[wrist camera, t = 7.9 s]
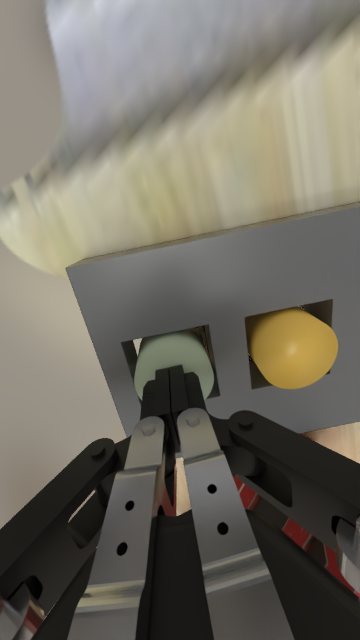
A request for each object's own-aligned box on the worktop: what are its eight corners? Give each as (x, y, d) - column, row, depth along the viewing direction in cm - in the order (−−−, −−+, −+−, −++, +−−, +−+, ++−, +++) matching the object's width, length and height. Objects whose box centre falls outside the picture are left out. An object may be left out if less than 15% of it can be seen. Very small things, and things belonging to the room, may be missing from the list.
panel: (444, 184, 15) (509, 175, 12) (409, 378, 20) (449, 403, 17) (83, 259, 15) (65, 267, 12) (140, 432, 20) (137, 466, 18)
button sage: (198, 315, 16) (207, 338, 13) (208, 371, 18) (218, 404, 15) (132, 328, 16) (124, 355, 13) (148, 383, 18) (144, 419, 15)
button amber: (304, 293, 16) (339, 311, 13) (304, 351, 18) (336, 380, 15) (237, 306, 16) (256, 328, 13) (244, 364, 18) (262, 395, 15)
